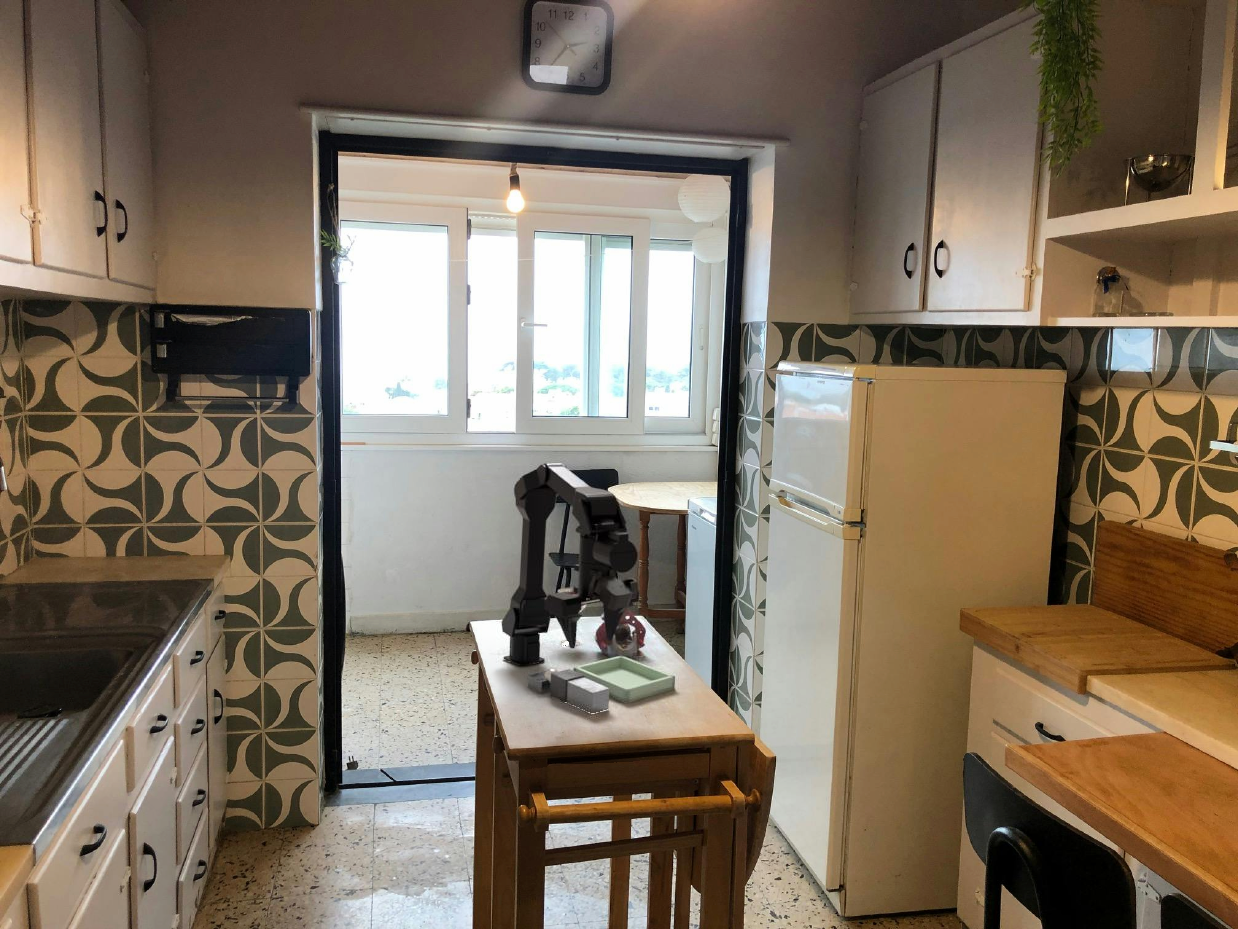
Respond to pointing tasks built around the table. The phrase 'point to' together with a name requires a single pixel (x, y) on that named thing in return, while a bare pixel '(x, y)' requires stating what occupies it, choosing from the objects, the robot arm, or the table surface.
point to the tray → (627, 678)
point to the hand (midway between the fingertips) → (591, 643)
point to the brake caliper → (622, 638)
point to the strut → (579, 691)
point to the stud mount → (541, 681)
